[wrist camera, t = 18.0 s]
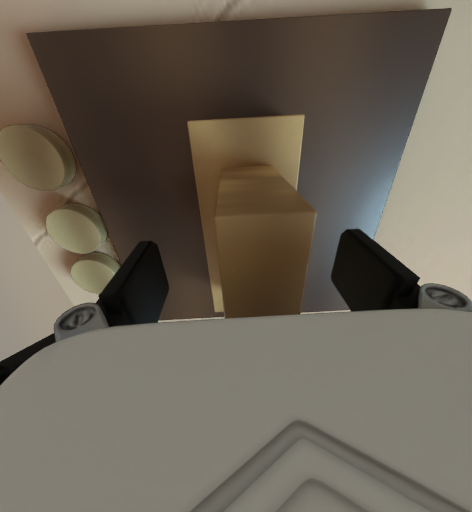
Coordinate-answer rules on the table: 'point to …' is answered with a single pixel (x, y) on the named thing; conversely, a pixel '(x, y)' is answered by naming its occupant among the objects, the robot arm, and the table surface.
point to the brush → (253, 213)
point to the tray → (239, 106)
